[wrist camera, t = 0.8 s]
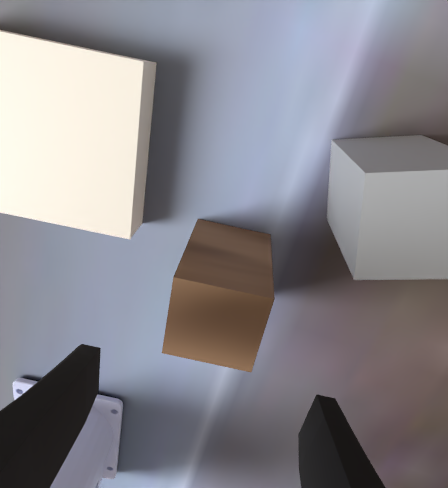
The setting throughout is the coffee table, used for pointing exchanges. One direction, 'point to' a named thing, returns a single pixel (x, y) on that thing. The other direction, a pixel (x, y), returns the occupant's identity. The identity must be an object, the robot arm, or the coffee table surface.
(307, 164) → the coffee table surface
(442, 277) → the grey rectangular block
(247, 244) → the walnut block
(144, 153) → the cream slab
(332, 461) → the robot arm
